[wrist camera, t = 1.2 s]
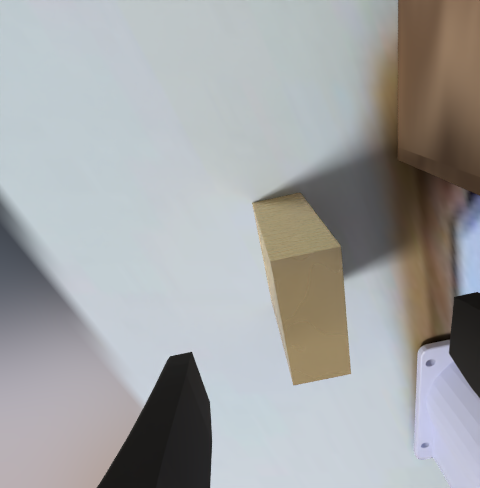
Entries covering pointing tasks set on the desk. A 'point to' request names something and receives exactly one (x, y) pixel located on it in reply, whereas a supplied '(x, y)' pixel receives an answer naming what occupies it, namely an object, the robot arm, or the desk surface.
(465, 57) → the walnut coin box
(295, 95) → the desk surface
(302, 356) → the block
